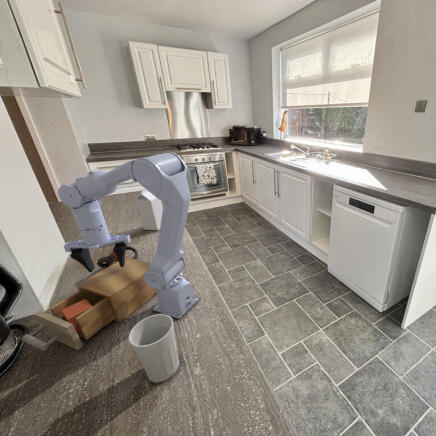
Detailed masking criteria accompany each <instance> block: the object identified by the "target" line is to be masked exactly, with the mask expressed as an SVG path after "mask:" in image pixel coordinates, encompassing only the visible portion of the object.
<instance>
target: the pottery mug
mask: <svg viewBox="0 0 436 436" xmlns="http://www.w3.org/2000/svg"><path fill="white" fill-rule="evenodd" d="M126 251H132V253H134V256H133V257H131V258H132V259H136V260H139V253H138V250H137V249H136V248H135V247H133V246H131V245H127V246H126ZM116 262H118V258H117V256H116V254H115V253H114V251H113V250H112V251H111V252H110V253H109V255H107V256H102V257H100V258H99V259H98V260H97V261H96V265H97V266H98V267H99V268H100V269H101V268H102V269H106V268H108V267H109V266H111V265H113V264H114V263H116Z"/></svg>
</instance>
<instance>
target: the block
mask: <svg viewBox="0 0 436 436" xmlns="http://www.w3.org/2000/svg"><path fill="white" fill-rule="evenodd" d="M91 307H93V306H92V305H91V304H90V303H89V302H88V301H87V299H84V300H82V301H79V302H77V303H75V304H73V305H71V306H69V307H67V308H65V309H63V310H61V311H62V313H63V315H64V317H65V319H66V321H67V322H69V323H71V324H73V326H74V328H75V330H76V332H77V333H79V332H81V330H80V327H79V325H78V323H77V321H76V319H75V318H77V317H78V316H80V315H81V314H82V313H84V312H85V311H87V310H88V309H90V308H91Z"/></svg>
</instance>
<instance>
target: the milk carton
mask: <svg viewBox="0 0 436 436" xmlns="http://www.w3.org/2000/svg"><path fill="white" fill-rule="evenodd" d="M135 202H136V206H137V209H138V213H139V217H140V221H141V224H142V228H143V230H146V231H147V230H148V231H160V225H161V219H162V212H163V202H162V200H159V199H157V198H156V197H155V196H154V195H153V194H151V193H150V192H149V191H148V190H147V189H144V190H142V191H140V193H139V196H138V197H137V198H136V199H135Z"/></svg>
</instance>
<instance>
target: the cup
mask: <svg viewBox="0 0 436 436" xmlns="http://www.w3.org/2000/svg"><path fill="white" fill-rule="evenodd" d="M174 326H175V325H174V320H173V317H172V316H169V315H166V314H163V313H157V314H152V315H149V316H146V317H145V318H143V319H141V320H140V321H139V322H137V323H136V324H135V325H134V326H133V327H132V328H131V329H130V332H129V334H128V342H129V345H130V346H131V348H132V349H133V351H134V353H135V354H136V356H137V358H138V360H139V361H140V363H141V365H142V367H143V369H144V371H145V373H146V376H147V378H148V380H149V381H150V382H152V383H161V382H165V381H167V380H169V379H170V378H171V377H173V375H175V373H176V372H177V371H178V369H179V366H180V360H179V355H178V348H177V342H176V341H177V340H176V334H175V333H176V332H175V327H174Z"/></svg>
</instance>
